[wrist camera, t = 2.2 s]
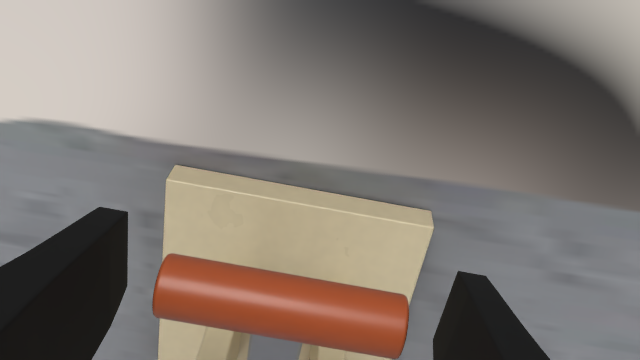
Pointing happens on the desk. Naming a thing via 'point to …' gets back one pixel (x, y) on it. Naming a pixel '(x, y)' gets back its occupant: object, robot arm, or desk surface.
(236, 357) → the bracket
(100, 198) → the desk surface
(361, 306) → the lever
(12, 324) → the robot arm
